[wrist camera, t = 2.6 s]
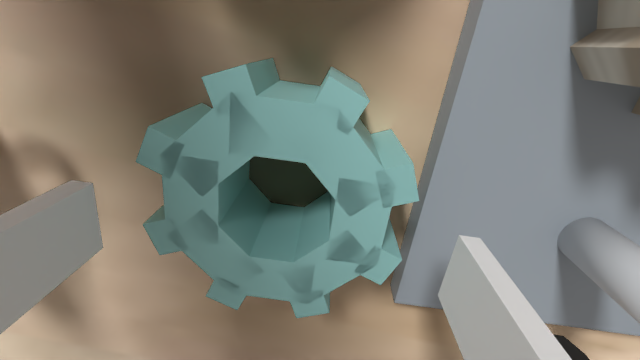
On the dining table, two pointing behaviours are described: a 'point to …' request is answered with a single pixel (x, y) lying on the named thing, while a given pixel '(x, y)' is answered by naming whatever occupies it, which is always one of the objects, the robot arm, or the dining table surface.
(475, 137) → the gear board
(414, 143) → the dining table surface
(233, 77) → the gear
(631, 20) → the gear
